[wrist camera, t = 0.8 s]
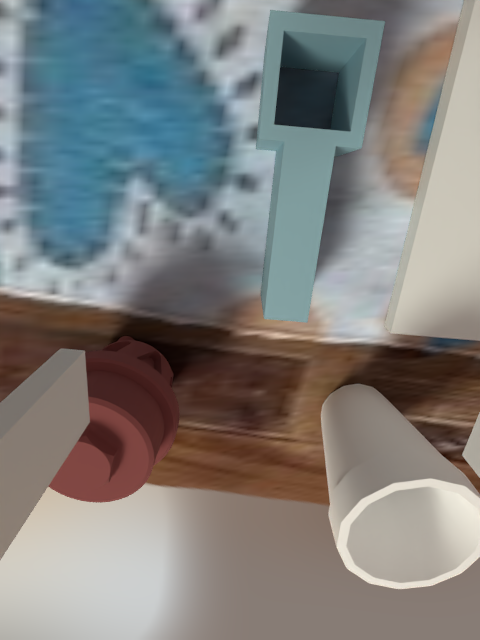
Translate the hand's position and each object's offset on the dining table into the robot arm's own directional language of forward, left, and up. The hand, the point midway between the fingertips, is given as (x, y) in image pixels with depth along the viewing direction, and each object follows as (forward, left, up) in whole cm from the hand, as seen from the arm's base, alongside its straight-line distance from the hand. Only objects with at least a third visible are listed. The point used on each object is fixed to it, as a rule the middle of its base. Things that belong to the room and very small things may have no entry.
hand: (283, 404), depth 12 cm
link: (-7, +2, -19) cm, 20 cm away
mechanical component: (+10, -10, -19) cm, 24 cm away
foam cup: (+13, +10, -19) cm, 25 cm away
